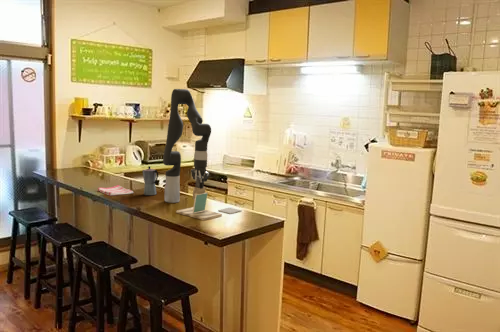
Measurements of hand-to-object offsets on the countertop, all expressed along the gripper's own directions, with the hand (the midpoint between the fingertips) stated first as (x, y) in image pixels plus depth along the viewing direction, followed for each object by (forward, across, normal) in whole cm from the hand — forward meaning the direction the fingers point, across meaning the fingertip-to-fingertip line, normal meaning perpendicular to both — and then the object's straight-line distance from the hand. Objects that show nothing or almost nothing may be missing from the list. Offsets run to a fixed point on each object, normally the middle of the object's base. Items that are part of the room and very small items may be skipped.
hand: (199, 187), depth 243 cm
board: (+16, 0, 0) cm, 16 cm away
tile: (+9, +1, 0) cm, 9 cm away
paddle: (+7, 0, 0) cm, 7 cm away
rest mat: (+16, +8, +19) cm, 26 cm away
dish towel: (+20, -87, +1) cm, 89 cm away
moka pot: (+18, -63, +14) cm, 67 cm away
